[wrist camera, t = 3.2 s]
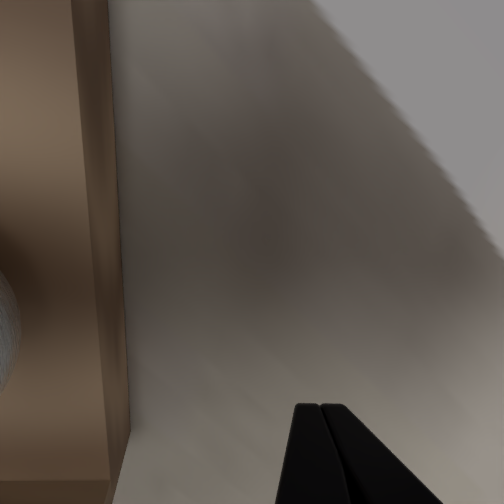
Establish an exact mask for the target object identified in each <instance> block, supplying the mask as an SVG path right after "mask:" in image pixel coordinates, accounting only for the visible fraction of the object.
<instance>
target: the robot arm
mask: <svg viewBox="0 0 504 504" xmlns="http://www.w3.org/2000/svg"><path fill="white" fill-rule="evenodd" d="M275 504H443V503H442V502H441V501H440V500H439V499H438V498H437V497H436V496H435V495H434V494H433V493H432V492H431V491H430V490H429V489H428V488H427V487H426V486H425V485H424V484H423V483H422V482H421V481H420V480H419V479H418V478H417V477H416V476H415V475H414V474H413V473H412V472H411V471H410V470H409V469H408V468H407V467H406V466H405V465H404V464H403V463H402V462H401V461H400V460H399V459H398V458H397V457H396V456H395V455H394V454H393V453H392V452H391V451H390V450H389V449H388V448H387V447H386V446H385V445H384V444H383V443H382V442H381V441H380V440H379V439H378V438H377V437H376V436H375V435H374V434H373V433H372V432H371V431H370V430H369V429H368V428H367V427H366V426H365V425H364V424H363V423H362V422H361V421H360V420H359V419H358V418H357V417H356V416H355V415H354V414H353V413H352V412H351V411H350V410H349V409H348V408H347V407H346V406H345V405H343V404H330V403H324V404H321V405H320V406H319V405H318V404H316V403H298V404H296V405H295V408H294V413H293V418H292V423H291V428H290V433H289V437H288V442H287V447H286V452H285V457H284V462H283V467H282V472H281V476H280V481H279V486H278V491H277V496H276V501H275Z"/></svg>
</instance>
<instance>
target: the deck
mask: <svg viewBox="0 0 504 504" xmlns="http://www.w3.org/2000/svg"><path fill="white" fill-rule="evenodd" d="M0 271H1V272H2V273H3V275H4V276H5V278H6V279H7V281H8V283H9V285H10V287H11V288H12V290H13V293H14V295H15V298H16V300H17V304H18V308H19V312H20V319H21V342H20V350H19V354H18V358H17V362H16V365H15V368H14V370H13V373H12V375H11V377H10V379H9V382H8V384H7V385H6V387H5V389H4V390H3V392H2V394H1V395H0V504H112V501H113V497H114V494H115V490H116V486H117V482H118V478H119V474H120V471H121V467H122V463H123V459H124V455H125V451H126V447H127V444H128V440H129V436H130V432H131V428H130V410H129V391H128V373H127V354H126V336H125V317H124V299H123V280H122V261H121V243H120V224H119V206H118V187H117V169H116V150H115V132H114V113H113V94H112V76H111V57H110V39H109V20H108V2H107V0H0Z"/></svg>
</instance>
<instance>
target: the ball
mask: <svg viewBox="0 0 504 504" xmlns="http://www.w3.org/2000/svg"><path fill="white" fill-rule="evenodd" d="M20 342H21V319H20V312H19V308H18V304H17V300H16V298H15V295H14V293H13V290H12V288H11V287H10V285H9V283H8V281H7V279H6V278H5V276H4V275H3V273H2V272H1V271H0V395H1V394H2V392H3V390H4V389H5V387H6V385H7V384H8V382H9V379H10V377H11V375H12V373H13V370H14V368H15V365H16V362H17V358H18V354H19V350H20Z"/></svg>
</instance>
